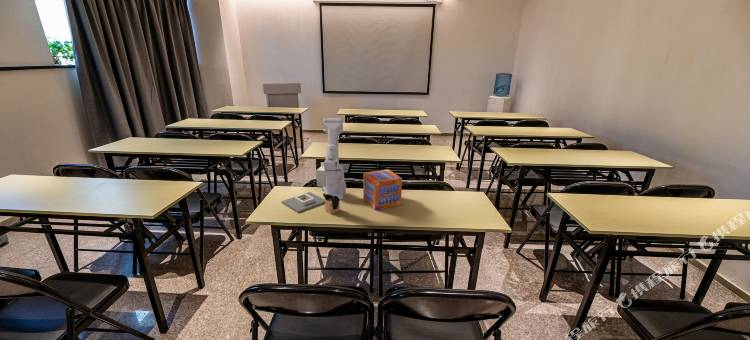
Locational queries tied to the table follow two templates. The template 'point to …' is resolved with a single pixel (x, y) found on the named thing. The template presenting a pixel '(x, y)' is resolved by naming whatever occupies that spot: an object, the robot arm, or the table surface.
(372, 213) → the table surface
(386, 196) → the game box
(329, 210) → the keyed peg
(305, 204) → the keyed socket
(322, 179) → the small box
